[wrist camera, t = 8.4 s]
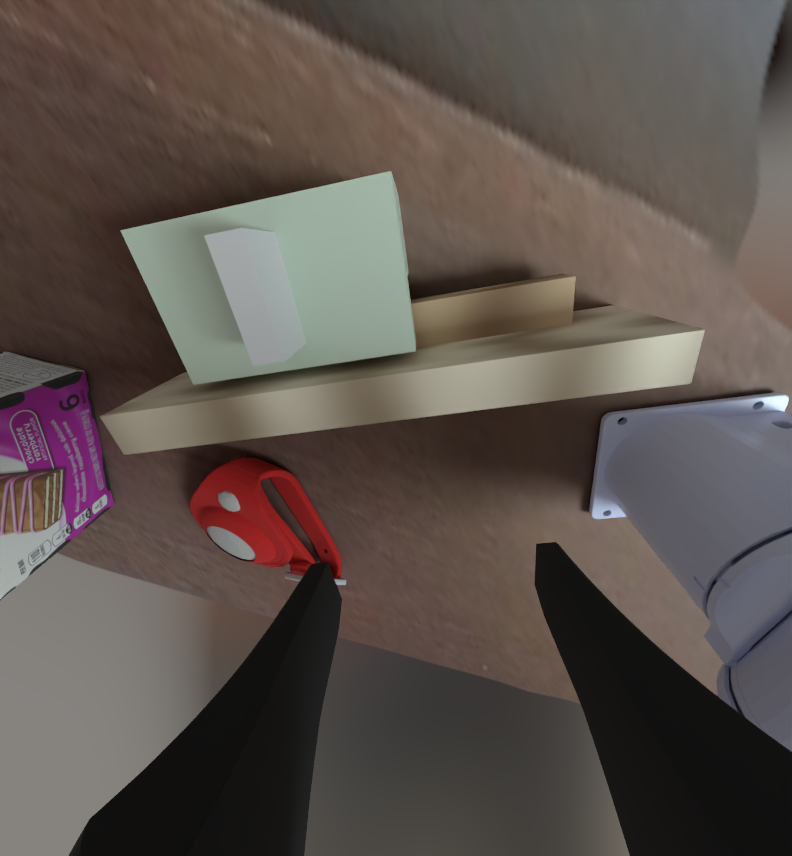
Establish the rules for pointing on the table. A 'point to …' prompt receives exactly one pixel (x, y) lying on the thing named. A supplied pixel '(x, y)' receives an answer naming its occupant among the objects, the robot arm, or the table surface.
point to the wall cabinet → (282, 280)
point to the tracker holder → (261, 518)
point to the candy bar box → (45, 463)
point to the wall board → (430, 370)
